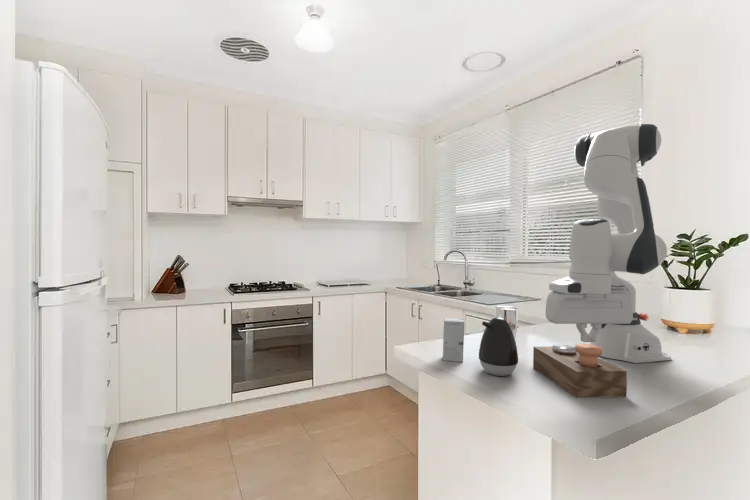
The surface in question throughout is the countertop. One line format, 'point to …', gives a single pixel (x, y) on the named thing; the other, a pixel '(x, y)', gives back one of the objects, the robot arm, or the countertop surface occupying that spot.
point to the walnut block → (580, 374)
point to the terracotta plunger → (588, 354)
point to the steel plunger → (564, 349)
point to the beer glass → (508, 316)
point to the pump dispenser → (498, 348)
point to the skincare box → (453, 339)
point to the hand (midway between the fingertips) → (588, 341)
